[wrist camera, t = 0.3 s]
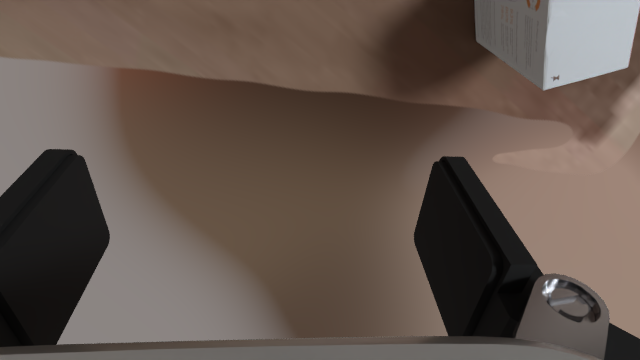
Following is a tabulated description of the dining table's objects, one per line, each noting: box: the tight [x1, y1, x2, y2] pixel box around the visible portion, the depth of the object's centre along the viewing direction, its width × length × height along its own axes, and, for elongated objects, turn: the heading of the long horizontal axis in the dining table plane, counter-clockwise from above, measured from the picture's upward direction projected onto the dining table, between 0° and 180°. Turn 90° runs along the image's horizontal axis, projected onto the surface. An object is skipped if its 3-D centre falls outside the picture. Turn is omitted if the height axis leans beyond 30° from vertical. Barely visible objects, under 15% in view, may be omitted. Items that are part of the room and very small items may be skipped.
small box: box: [474, 0, 640, 90], centre depth 32 cm, size 8×6×13 cm
